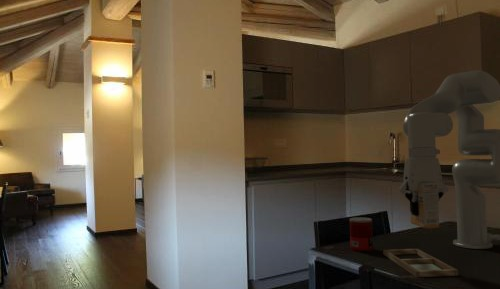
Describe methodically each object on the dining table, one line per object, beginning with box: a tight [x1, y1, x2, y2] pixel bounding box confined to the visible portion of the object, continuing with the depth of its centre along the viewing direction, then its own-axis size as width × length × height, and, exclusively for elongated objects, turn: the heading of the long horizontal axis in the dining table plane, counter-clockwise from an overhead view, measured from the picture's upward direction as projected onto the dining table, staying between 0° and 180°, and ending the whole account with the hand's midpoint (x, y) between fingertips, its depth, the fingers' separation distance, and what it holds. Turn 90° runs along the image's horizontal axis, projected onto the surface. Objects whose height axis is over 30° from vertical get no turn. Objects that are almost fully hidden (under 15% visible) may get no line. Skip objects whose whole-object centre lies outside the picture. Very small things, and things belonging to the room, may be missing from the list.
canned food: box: [349, 216, 374, 252], centre depth 143 cm, size 8×8×11 cm
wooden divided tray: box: [382, 248, 459, 278], centre depth 123 cm, size 12×25×2 cm, turn 2°
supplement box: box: [410, 183, 440, 229], centre depth 117 cm, size 8×5×13 cm, turn 5°
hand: (424, 214), depth 117 cm, fingers closed on supplement box, 5 cm apart
